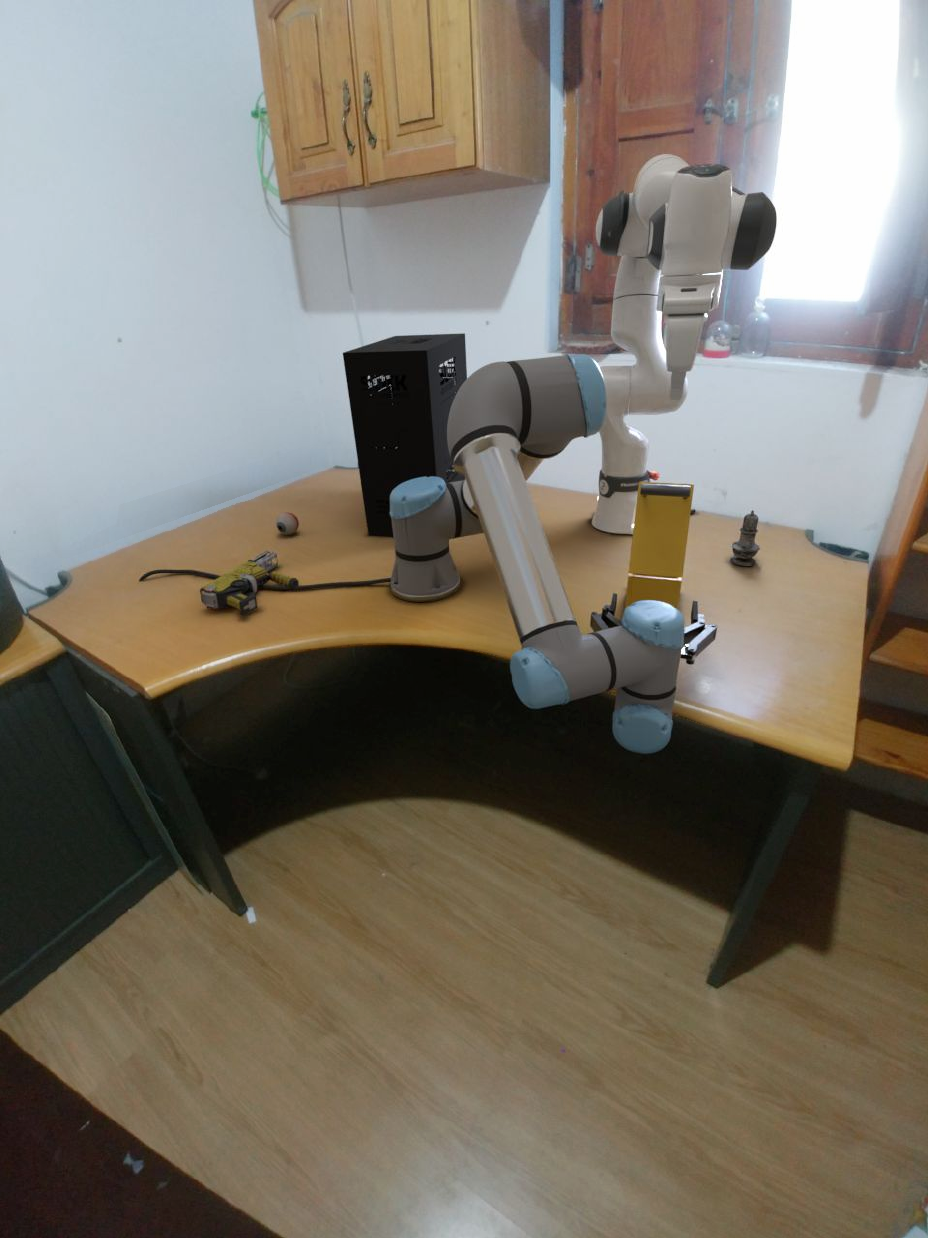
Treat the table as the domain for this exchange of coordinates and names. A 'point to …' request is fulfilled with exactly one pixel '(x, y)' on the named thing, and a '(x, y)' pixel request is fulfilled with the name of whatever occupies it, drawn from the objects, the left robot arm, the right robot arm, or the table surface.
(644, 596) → the chest
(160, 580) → the table surface
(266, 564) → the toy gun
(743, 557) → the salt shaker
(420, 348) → the cardboard box
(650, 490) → the lid
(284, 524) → the eyeball
